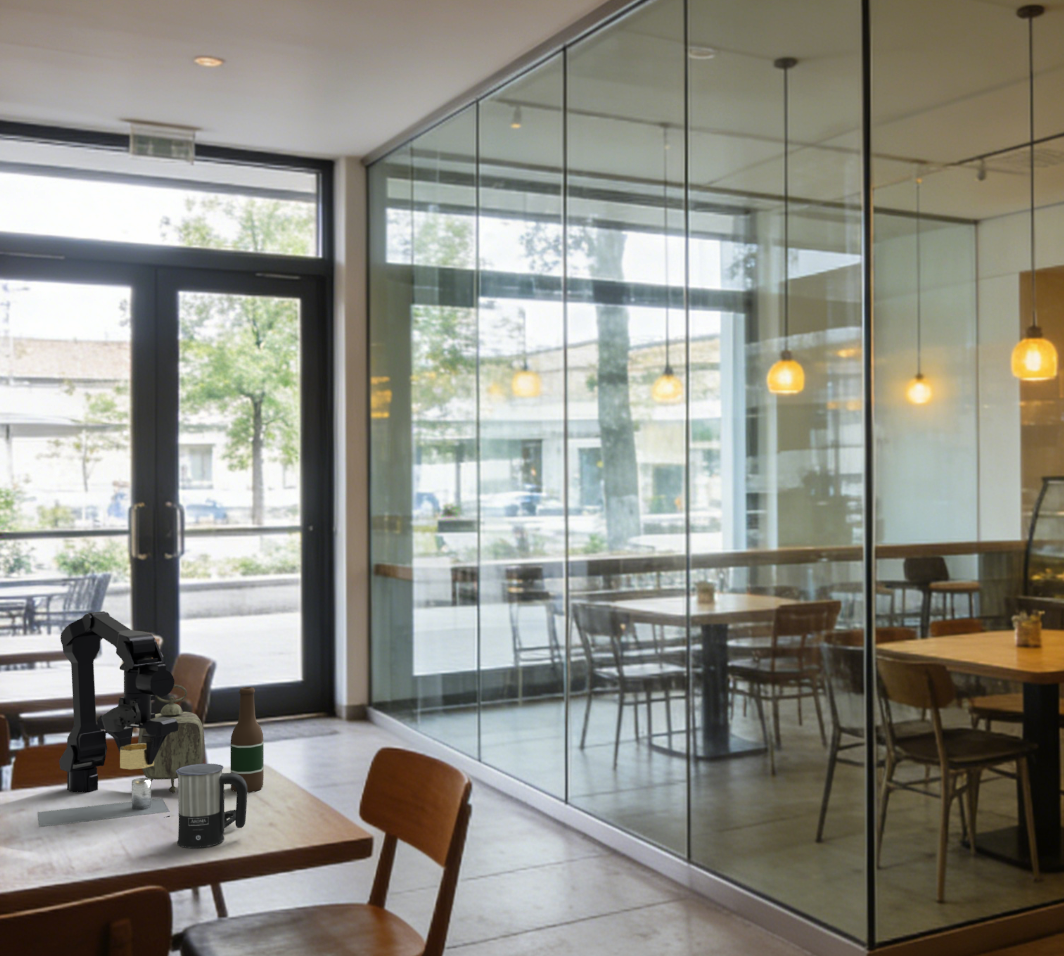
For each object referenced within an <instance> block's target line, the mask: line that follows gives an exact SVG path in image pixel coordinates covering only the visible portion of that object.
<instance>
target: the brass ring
mask: <svg viewBox="0 0 1064 956" xmlns="http://www.w3.org/2000/svg"><path fill="white" fill-rule="evenodd" d="M150 766H154V761H153V764H151V765H148V763H147V750H146V743H141V744H138V743H131V744H130V745H126V746H122V747H120V753H119V769H123V770H139V769H141V770H142V768H147V767H150Z"/></svg>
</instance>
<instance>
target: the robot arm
mask: <svg viewBox="0 0 1064 956" xmlns="http://www.w3.org/2000/svg"><path fill="white" fill-rule="evenodd" d="M103 639H104V640H105V641H107V642H108V643H110V645H112V646H113V647H115V648H116V649H115V654H116V655H117V656H118V657H119V658H120V659H121V660H122V662H123V663H122V664H121V665H120V666H119V670H121V671H123V696H121V697H119V699H118V705H117V706H115V707H113V708H111V709H110V710H109V711H107V712H106V713H104V714H101V715H99V717H98V718H97V707H96V704H97V703H96V687H95V667H94V666H95V665H94V662H95V659H96V657H97V655H98V654H99V652H100V650H101V641H102V640H103ZM60 643H61V645H62V646H61V647H62V652H63V654H64V655H65V657H66V658H67V659H68V661H69V662H70V666H71V685H72V686H71V689H72V705H73V707H72V708H73V709H72V710H73V727H72V729H71V730H70V732H69V734H68V736H67V738H66V747H65V750H64V751H63V753H62V755H61V757H59V758H60V759H59V760H58V763H59V769H60V770H61V771H64V772H67V773H66V777H67V779H66V788H67V789H66V791H68V792H70V793H75V794H79V793H92V792H96V791H98V790H99V774H98V768H99V767H104V766H105V763H106V758H107V751H108V745H107V734H108V735H109V736H110V737H112V738H113V740H114V742H115V744H116V746H117V749H118V752H119V754H120V747H122V746H126V745H130V744H132V738H133V731H134V728H137V729H140V728H144V729H146V732H147V733H148V734H145V735H142V737H143V738H144V739H145V741H146V750H147V763H148V765H151V764H153V761H154V759H155V757H156V755H157V753H158V751H159V749H160V747H161V745H162V743H163V741H164V739H165V738H166V736H167V735H168V734H170V733H171V732H175V731H178V721H177V720H176V719H175V718H167V717H162V718H158V719H154V718H155V714H156V713H154V712H153V713H152V701H155V700H156V696H158V697H159V698H161V697H166V696H168V695H169V694H170V693H171V692H172V691H173V689H174V688H173V687H174V685H175V678H174V675H173V674H172V673H171V672H170V671H169V670H167V665H166V664H165V661H164V655H163V652H162V651H161V649H160V647H159V645H158V642H157V640H156V638H155V636H154V635H152V633H149V632H145V631H141V630H133V629H131V628H129V627H128V626H126V625H124V624H123V623H121V622H120V621H118V620H117V619H116V618H114V617H112V616H111V614H110V613H109V612H107V611H104V610H103V611H92V612H87V613H85V614H84V615H83V616H82V617H81V618H78V619H77V620H75V621H73V622H71V623H68V625H67V626H65V628H64V629H63V630H62V631H61V633H60ZM151 719H154V720H151ZM141 723H142V724H141Z"/></svg>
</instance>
